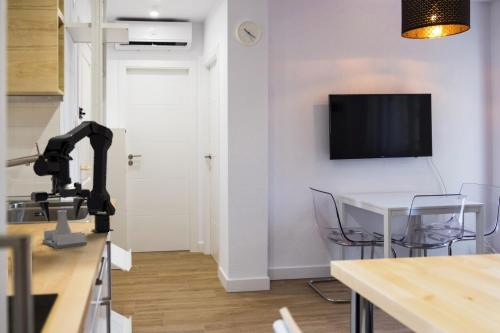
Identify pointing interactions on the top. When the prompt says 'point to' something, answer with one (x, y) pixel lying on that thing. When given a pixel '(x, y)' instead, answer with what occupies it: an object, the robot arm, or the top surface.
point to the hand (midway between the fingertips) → (62, 220)
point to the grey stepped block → (64, 239)
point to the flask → (62, 224)
